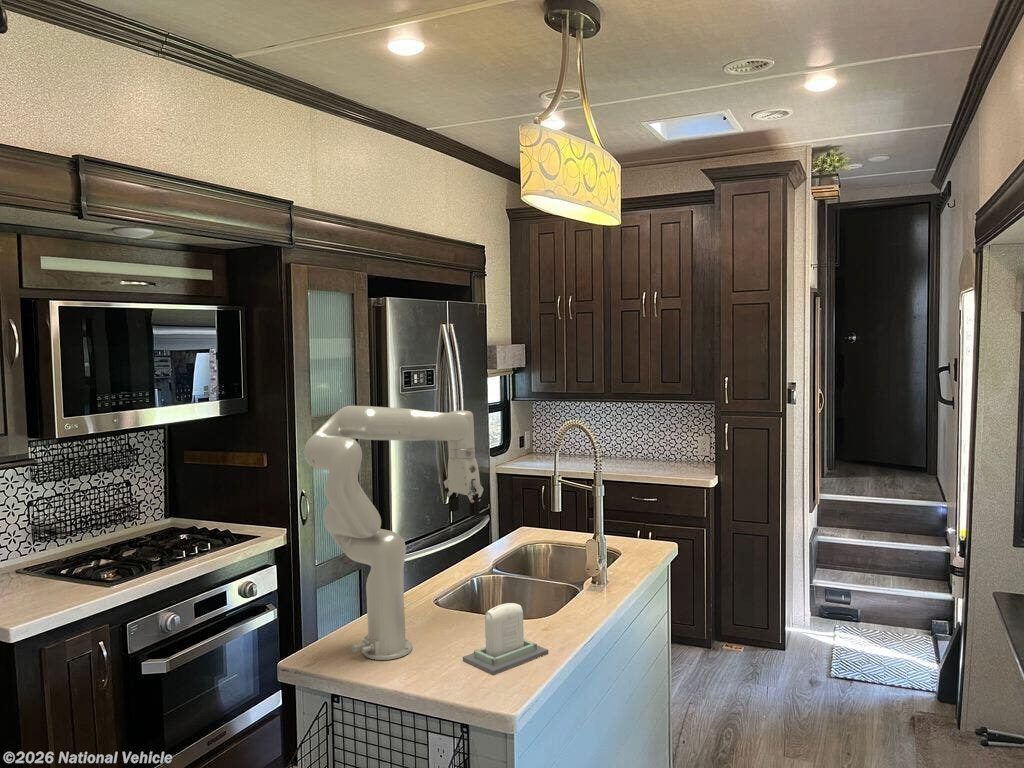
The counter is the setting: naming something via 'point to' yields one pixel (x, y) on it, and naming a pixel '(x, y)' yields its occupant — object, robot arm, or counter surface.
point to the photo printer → (504, 629)
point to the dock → (505, 658)
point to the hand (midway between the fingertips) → (464, 513)
